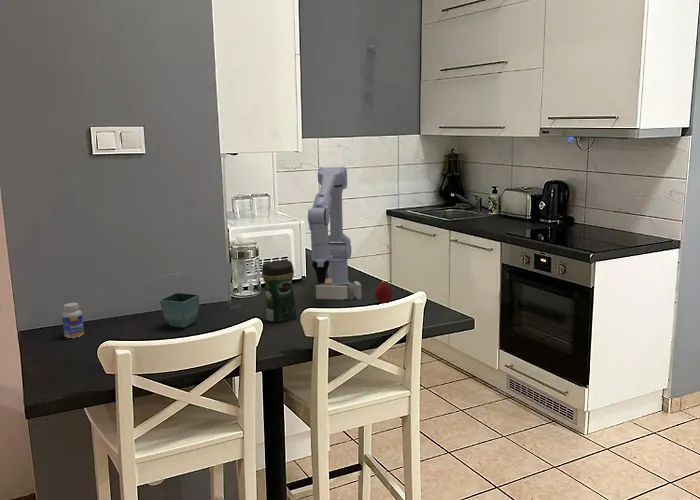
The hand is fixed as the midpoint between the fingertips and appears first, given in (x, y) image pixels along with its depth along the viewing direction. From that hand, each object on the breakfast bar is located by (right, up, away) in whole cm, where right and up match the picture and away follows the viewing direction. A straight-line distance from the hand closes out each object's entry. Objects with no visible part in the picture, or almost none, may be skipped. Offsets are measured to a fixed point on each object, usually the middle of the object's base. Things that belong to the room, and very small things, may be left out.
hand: (321, 283), depth 220 cm
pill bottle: (-72, -15, -25) cm, 78 cm away
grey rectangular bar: (+3, -6, +7) cm, 9 cm away
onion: (+21, -7, -2) cm, 22 cm away
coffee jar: (-12, -11, -15) cm, 22 cm away
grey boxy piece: (+11, -5, +7) cm, 14 cm away
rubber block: (+1, -5, +10) cm, 12 cm away
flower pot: (-42, -12, -18) cm, 47 cm away
